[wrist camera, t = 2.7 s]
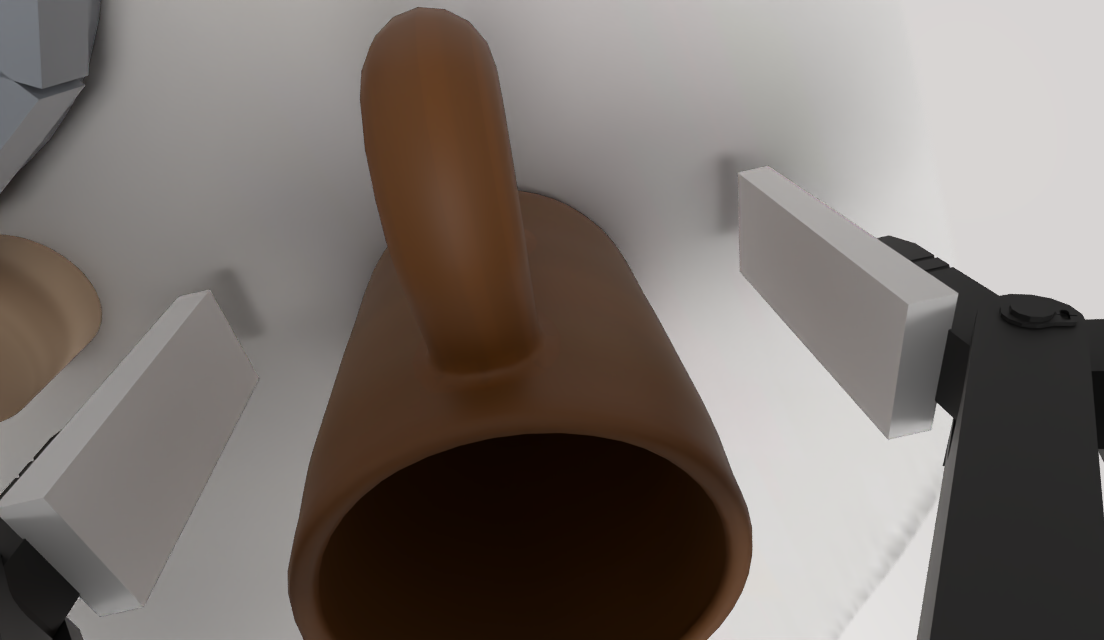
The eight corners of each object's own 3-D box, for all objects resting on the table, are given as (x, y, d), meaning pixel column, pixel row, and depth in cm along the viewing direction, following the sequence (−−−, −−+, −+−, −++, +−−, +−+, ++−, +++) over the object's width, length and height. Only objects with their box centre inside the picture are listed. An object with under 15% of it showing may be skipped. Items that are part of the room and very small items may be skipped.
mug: (267, 13, 13) (-54, 92, 5) (609, -37, 13) (822, -39, 5) (405, 428, 19) (360, 758, 11) (636, 387, 20) (753, 682, 12)
